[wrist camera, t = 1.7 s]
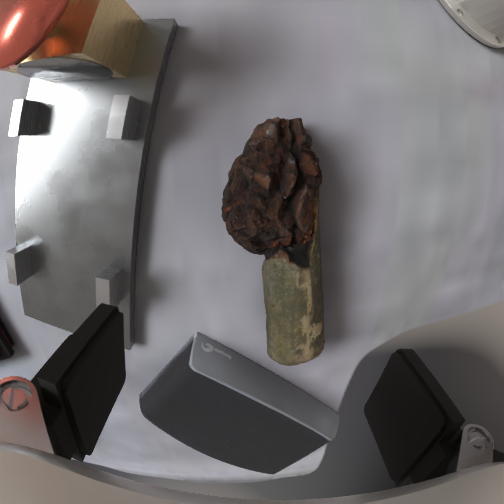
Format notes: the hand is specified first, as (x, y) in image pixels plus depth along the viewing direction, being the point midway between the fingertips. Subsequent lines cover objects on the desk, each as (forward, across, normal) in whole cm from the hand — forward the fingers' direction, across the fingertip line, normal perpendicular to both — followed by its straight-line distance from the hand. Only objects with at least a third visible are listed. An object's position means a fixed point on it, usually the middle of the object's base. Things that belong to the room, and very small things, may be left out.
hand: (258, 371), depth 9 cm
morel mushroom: (+15, -2, -1) cm, 15 cm away
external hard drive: (+16, -2, +18) cm, 24 cm away
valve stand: (+14, +16, -3) cm, 21 cm away
